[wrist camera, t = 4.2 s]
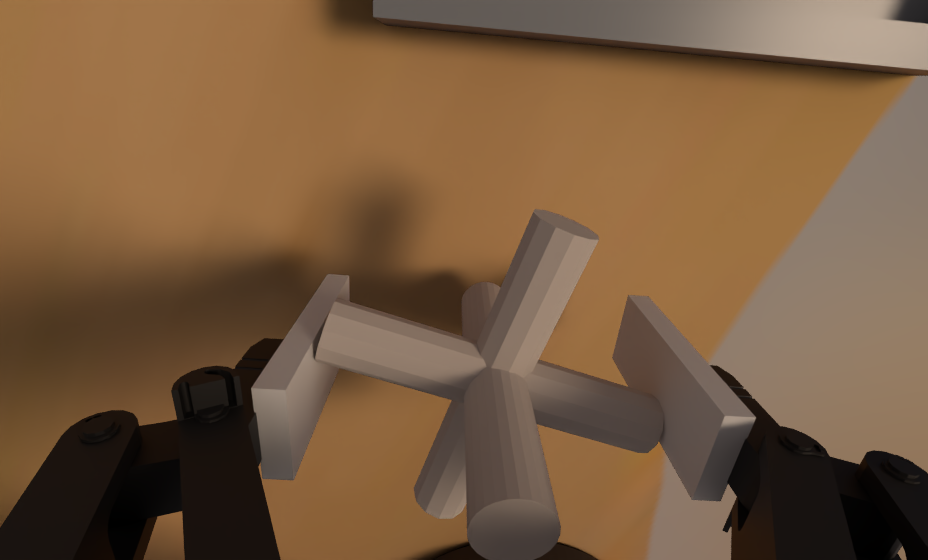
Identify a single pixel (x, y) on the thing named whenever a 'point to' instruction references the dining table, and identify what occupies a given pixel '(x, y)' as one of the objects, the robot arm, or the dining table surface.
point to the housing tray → (699, 27)
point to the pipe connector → (498, 391)
